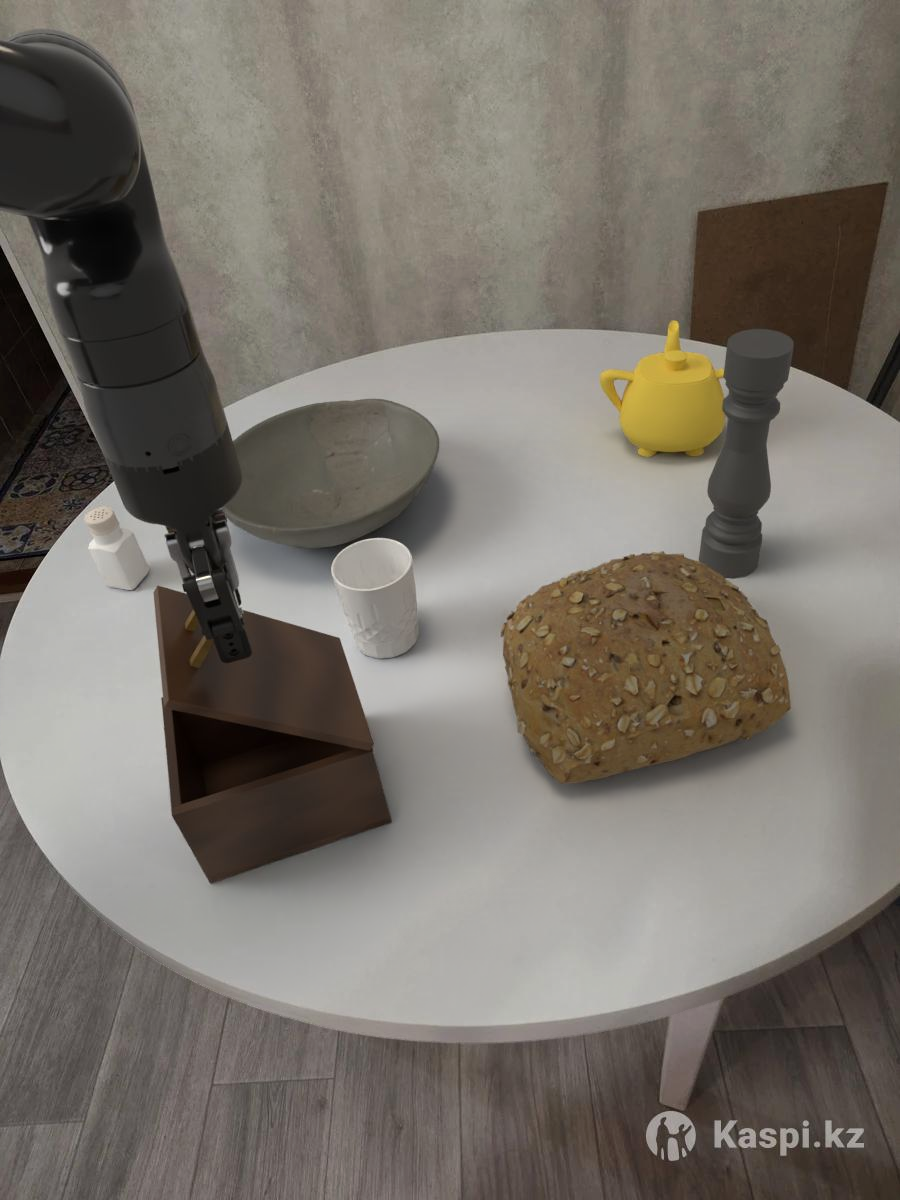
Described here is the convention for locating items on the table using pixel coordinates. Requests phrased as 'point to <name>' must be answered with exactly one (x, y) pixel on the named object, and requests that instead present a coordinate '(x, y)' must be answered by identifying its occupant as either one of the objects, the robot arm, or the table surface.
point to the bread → (639, 666)
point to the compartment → (264, 792)
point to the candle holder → (744, 450)
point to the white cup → (378, 595)
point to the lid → (260, 676)
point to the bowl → (331, 471)
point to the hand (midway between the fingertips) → (232, 630)
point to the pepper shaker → (115, 550)
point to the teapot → (669, 400)
